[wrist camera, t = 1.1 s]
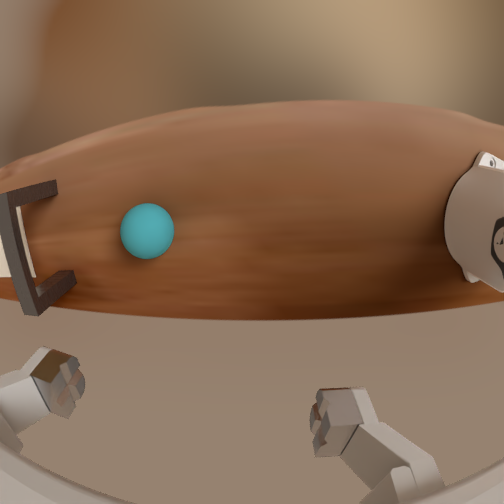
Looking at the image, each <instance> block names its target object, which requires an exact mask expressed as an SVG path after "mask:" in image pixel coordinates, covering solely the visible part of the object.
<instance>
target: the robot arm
mask: <svg viewBox="0 0 504 504" xmlns="http://www.w3.org/2000/svg"><path fill="white" fill-rule="evenodd" d="M444 229H445V239H446V243H447V247H448V250H449V252H450V254H451V255H452V257H453V258H454V260H455V261H456V262H457V263H458V264H460V266H461V267H462V269H463V273H464V276H465V278H466V280H467V281H469V282H471V283H474V282H476V281H479V280H481V281H483V282H484V283H486V284H488V285H489V286H491V287H493V288H494V289H496V290H498V291H499V292H504V161H502V160H500V159H498V158H497V157H495V156H493V155H491V154H489V153H487V152H483V151H482V152H480V153H479V155H478V156H477V158H476V160H475V162H474V165H473V167H472V168H471V169H470V170H469V171H468V172H466V173H465V174H464V175H463V176H462V177H461V178H460V179H459V181H458V182H457V183H456V185H455V187H454V189H453V191H452V193H451V195H450V198H449V201H448V204H447V208H446V213H445V224H444ZM79 366H80V364H79V362H78V359H77V358H76V357H74V356H71V355H68V354H65V353H62V352H60V351H56V350H54V349H51V348H48V347H45V346H43V347H40V348H39V349H38V350H37V351H36V352H35V353H34V355H33V356H32V357H31V358H30V359H29V360H28V361H27V362H26V364H25V365H24V366H23V367H22V368H21V369H20V370H19V371H18V370H14V371H12V372H9V373H7V374H4V375H1V376H0V504H135V503H132V502H128V501H125V500H122V499H119V498H116V497H112V496H109V495H107V494H104V493H101V492H98V491H96V490H93V489H90V488H88V487H85V486H83V485H80V484H78V483H76V482H74V481H71V480H69V479H67V478H65V477H63V476H60V475H58V474H56V473H54V472H52V471H50V470H48V469H46V468H44V467H42V466H41V465H39V464H37V463H35V462H33V461H32V460H30V459H28V458H26V457H25V456H23V455H21V454H20V451H21V450H22V448H23V443H22V442H21V441H20V439H19V438H18V437H17V436H16V435H17V434H18V433H20V432H21V431H23V430H24V429H26V428H28V427H29V426H31V425H33V424H34V423H36V422H37V421H39V420H40V419H42V418H43V417H45V416H46V415H48V414H50V412H51V413H54V414H57V415H59V416H62V417H64V418H67V419H68V418H69V417H70V415H71V413H72V412H73V410H74V408H75V401H76V400H78V399H80V398H81V396H82V395H83V393H84V389H85V379H84V376H83V374H82V373H81V372H80V371H79V369H78V367H79ZM316 400H317V403H315V404H314V405H313V406H312V409H311V413H310V429H311V432H312V433H313V434H315V437H314V439H313V447H314V453H315V457H331V456H340V458H341V459H342V460H343V461H344V462H345V463H346V464H347V465H348V466H349V467H350V468H351V469H352V470H353V472H354V473H355V474H356V475H357V476H358V477H359V478H360V479H361V480H362V481H363V482H364V483H365V484H366V485H367V486H368V487H369V488H370V489H371V490H372V491H371V492H370V493H369V494H367V495H366V496H365V497H364V498H363V499H362V500H361V501H360V503H359V504H504V458H502V459H501V460H499V461H497V462H495V463H493V464H491V465H490V466H488V467H486V468H484V469H482V470H480V471H478V472H476V473H474V474H472V475H470V476H468V477H466V478H464V479H462V480H460V481H457V482H455V483H453V484H450V485H448V486H446V487H445V485H444V482H443V480H442V477H441V475H440V473H439V470H438V468H437V466H436V463H435V461H434V459H433V457H432V456H431V455H429V454H428V453H426V452H425V451H423V450H422V449H421V448H419V447H418V446H416V445H415V444H413V443H412V442H410V441H409V440H408V439H406V438H405V437H403V436H402V435H401V434H399V433H398V432H396V431H395V430H394V429H392V428H391V427H389V426H388V425H387V424H385V423H384V422H379V421H378V418H377V416H376V413H375V411H374V408H373V406H372V403H371V401H370V398H369V396H368V393H367V391H366V389H365V388H364V387H350V388H330V389H319V390H318V392H317V395H316Z"/></svg>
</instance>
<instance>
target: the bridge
mask: <svg viewBox="0 0 504 504" xmlns="http://www.w3.org/2000/svg"><path fill="white" fill-rule="evenodd" d="M56 194H58V191H57V183H56V180H52V181H47V182H43V183H39V184H35V185H31V186H27V187H24V188H20V189H16V190H13V191H9V192H6V193H3V194H0V236H1V240H2V245H3V249H4V253H5V257H6V260H7V264H8V268H9V271H10V274H11V278H12V281H13V284H14V287H15V290H16V293H17V296H18V299H19V301H20V304H21V307H22V309H23V312H24V314H25V315H32V316H39V315H41V314H42V313H43V312H44V311H45V310H46V309H47V308H48V307H50V306H51V305H52V304H53V303H54V302H55V301H56V300H58V299H59V298H60V297H61V296H62V295H63V294H65V293H66V292H67V291H68V290H69V289H70V288H72V287H73V286H74V285H75V284H76V283H77V282H76V278H75V275H74V271H73V270H64V271H58V272H56V273H55V274H54V275H52V276H51V277H49V278H48V279H47V280H45V281H44V282H43V283H41V284H40V285H39V286H37V287H36V288H35V285H34V282H33V278H32V275H31V271H30V268H29V264H28V261H27V257H26V253H25V249H24V245H23V241H22V236H21V231H20V227H19V221H18V216H17V210H16V207H19V206H22V205H25V204H28V203H31V202H34V201H37V200H40V199H43V198H46V197H49V196H53V195H56Z"/></svg>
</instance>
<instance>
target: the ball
mask: <svg viewBox="0 0 504 504" xmlns="http://www.w3.org/2000/svg"><path fill="white" fill-rule="evenodd" d="M120 236H121V240H122V243H123V245H124V247H125V248H126V249H127V251H128V252H130V253H131V254H132V255H134V256H136V257H138V258H141V259H152V258H156V257H158V256H160V255H162V254H163V253H164V252H165V251H166V250H167V249H168V248H169V246H170V245H171V243H172V240H173V237H174V225H173V221H172V219H171V217H170V215H169V214H168V213H167V211H165V210H164V209H163V208H162V207H160V206H158V205H155V204H150V203H144V204H140V205H137V206H135V207H133V208H132V209H131V210H129V211H128V212H127V214H126V215H125V216H124V218H123V220H122V223H121V228H120Z"/></svg>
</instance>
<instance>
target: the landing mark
mask: <svg viewBox="0 0 504 504" xmlns="http://www.w3.org/2000/svg"><path fill="white" fill-rule="evenodd" d="M16 210H17V216H18V221H19V227H20V231H21V236H22V241H23V245H24V249H25V253H26V257H27V261H28V264H29V268H30V271H31V275H32V277H36V274H35V271H34V267H33V264H32V260H31V256H30V252H29V248H28V244H27V239H26V235H25V230H24V225H23V220H22V215H21V209H20V206H19V207H16ZM0 277H11V274H10V271H9V268H8V264H7V260H6V257H5V253H4V249H3V245H2V240H1V236H0Z"/></svg>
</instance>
